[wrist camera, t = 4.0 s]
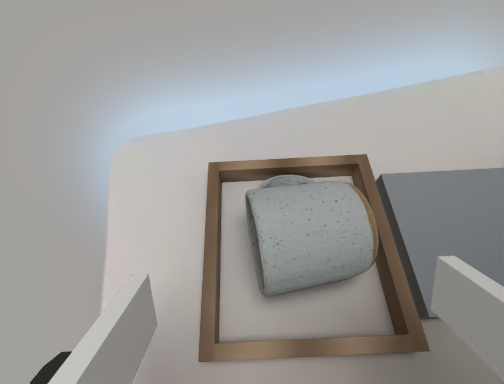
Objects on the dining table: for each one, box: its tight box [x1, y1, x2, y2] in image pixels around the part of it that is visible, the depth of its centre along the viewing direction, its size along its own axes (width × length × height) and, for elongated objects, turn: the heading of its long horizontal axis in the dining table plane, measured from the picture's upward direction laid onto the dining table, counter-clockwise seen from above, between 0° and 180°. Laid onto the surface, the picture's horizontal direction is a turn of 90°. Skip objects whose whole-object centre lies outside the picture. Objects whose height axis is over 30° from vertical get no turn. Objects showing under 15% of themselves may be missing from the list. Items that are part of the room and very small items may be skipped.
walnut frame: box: [199, 154, 430, 362], centre depth 22 cm, size 15×16×2 cm
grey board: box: [376, 168, 504, 319], centre depth 22 cm, size 12×12×2 cm
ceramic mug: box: [245, 175, 379, 296], centre depth 20 cm, size 11×8×8 cm
